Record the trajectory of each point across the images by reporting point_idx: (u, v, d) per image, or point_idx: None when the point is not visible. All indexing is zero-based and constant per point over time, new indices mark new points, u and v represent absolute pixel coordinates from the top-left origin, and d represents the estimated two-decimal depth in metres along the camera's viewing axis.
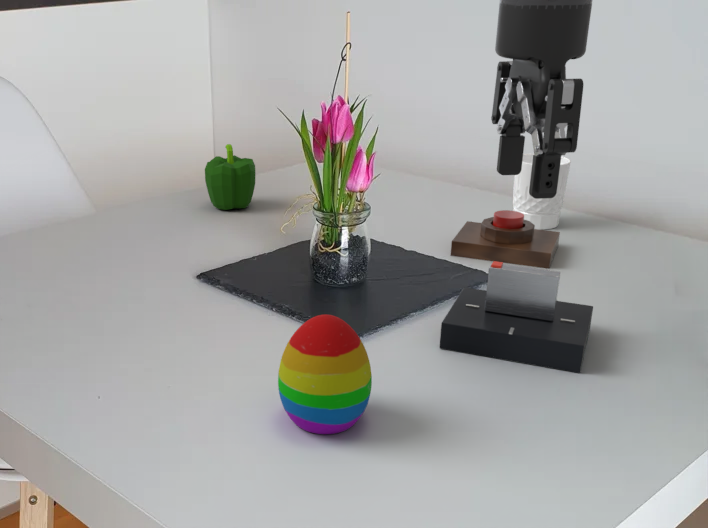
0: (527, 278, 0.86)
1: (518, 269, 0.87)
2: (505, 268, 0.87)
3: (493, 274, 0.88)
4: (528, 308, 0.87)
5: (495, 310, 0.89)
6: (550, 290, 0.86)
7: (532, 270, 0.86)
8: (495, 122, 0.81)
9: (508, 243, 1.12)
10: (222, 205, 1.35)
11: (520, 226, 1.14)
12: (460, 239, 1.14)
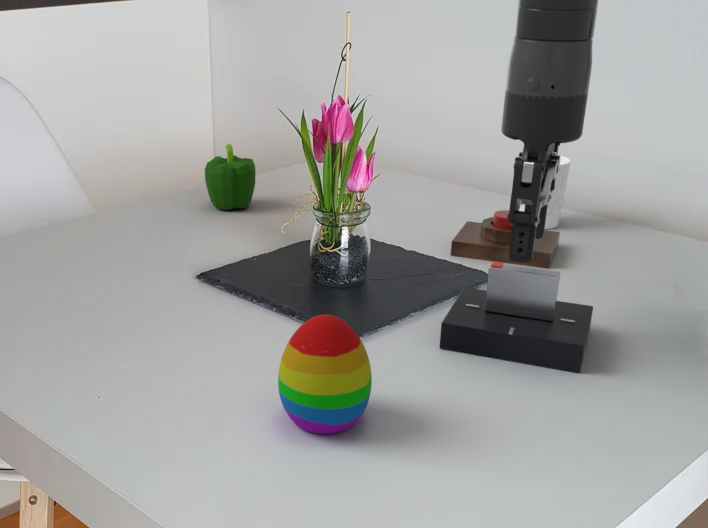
0: (527, 278, 0.86)
1: (518, 269, 0.87)
2: (505, 268, 0.87)
3: (493, 274, 0.88)
4: (528, 308, 0.87)
5: (495, 310, 0.89)
6: (550, 290, 0.86)
7: (532, 270, 0.86)
8: None
9: (508, 243, 1.12)
10: (222, 205, 1.35)
11: None
12: (460, 239, 1.14)
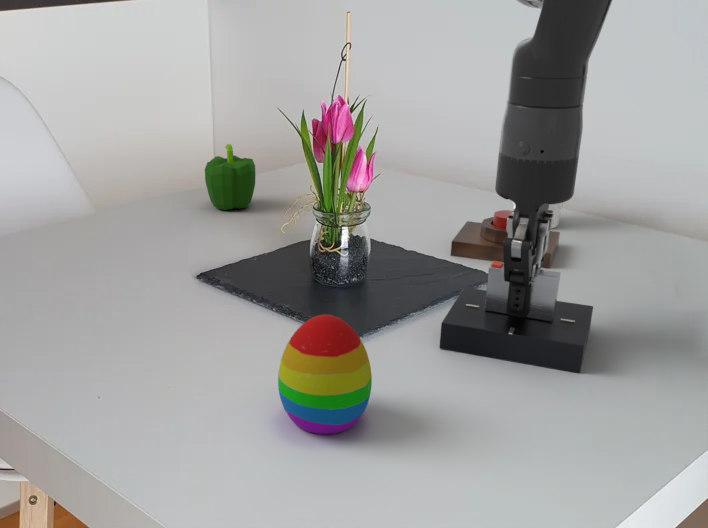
0: None
1: None
2: None
3: (493, 274, 0.88)
4: None
5: (495, 310, 0.89)
6: (549, 291, 0.86)
7: None
8: None
9: None
10: (222, 205, 1.35)
11: None
12: (460, 239, 1.14)
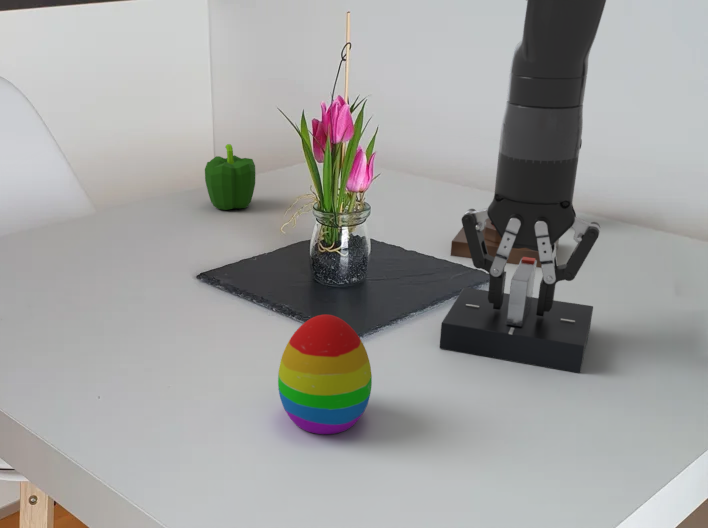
0: None
1: (523, 267, 0.87)
2: (522, 263, 0.89)
3: None
4: None
5: None
6: None
7: (522, 271, 0.86)
8: None
9: None
10: (222, 205, 1.35)
11: None
12: (460, 239, 1.14)
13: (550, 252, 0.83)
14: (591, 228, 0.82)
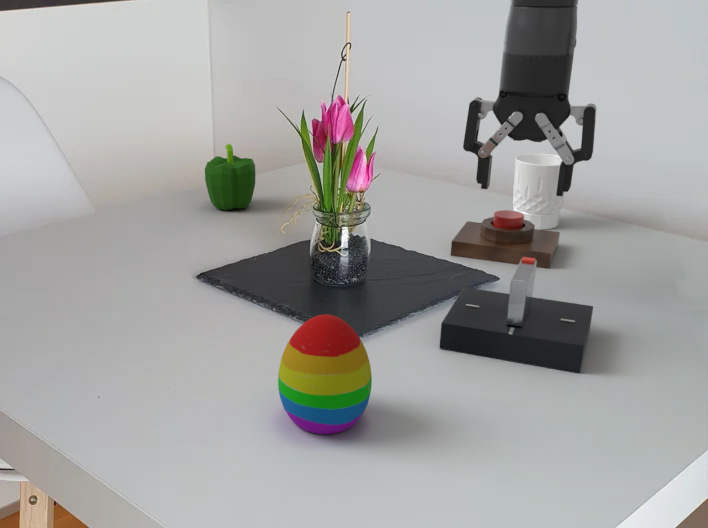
0: None
1: (523, 267, 0.87)
2: (522, 263, 0.89)
3: None
4: None
5: None
6: None
7: (522, 271, 0.86)
8: None
9: (508, 243, 1.12)
10: (222, 205, 1.35)
11: (520, 226, 1.14)
12: (460, 239, 1.14)
13: (558, 136, 0.94)
14: (586, 107, 0.92)
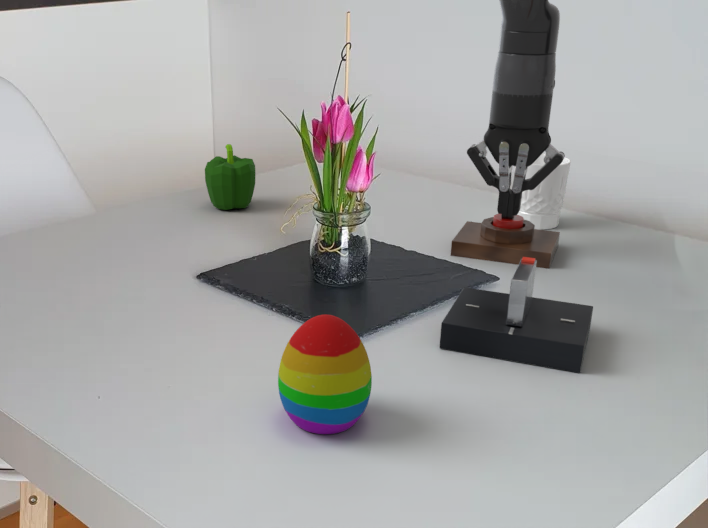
0: None
1: (523, 267, 0.87)
2: (522, 263, 0.89)
3: None
4: None
5: None
6: None
7: (522, 271, 0.86)
8: None
9: (508, 243, 1.12)
10: (222, 205, 1.35)
11: None
12: (460, 239, 1.14)
13: (524, 169, 1.10)
14: (558, 155, 1.08)
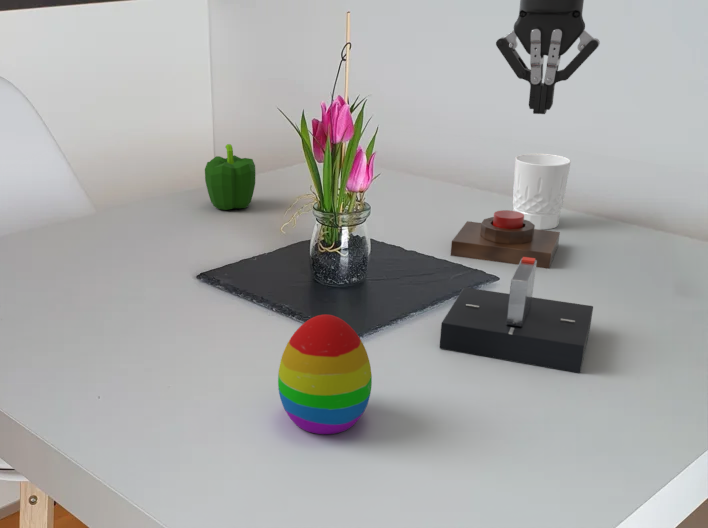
0: None
1: (523, 267, 0.87)
2: (522, 263, 0.89)
3: None
4: None
5: None
6: None
7: (522, 271, 0.86)
8: None
9: (508, 243, 1.12)
10: (222, 205, 1.35)
11: (520, 226, 1.14)
12: (460, 239, 1.14)
13: (557, 57, 1.05)
14: (593, 40, 1.03)
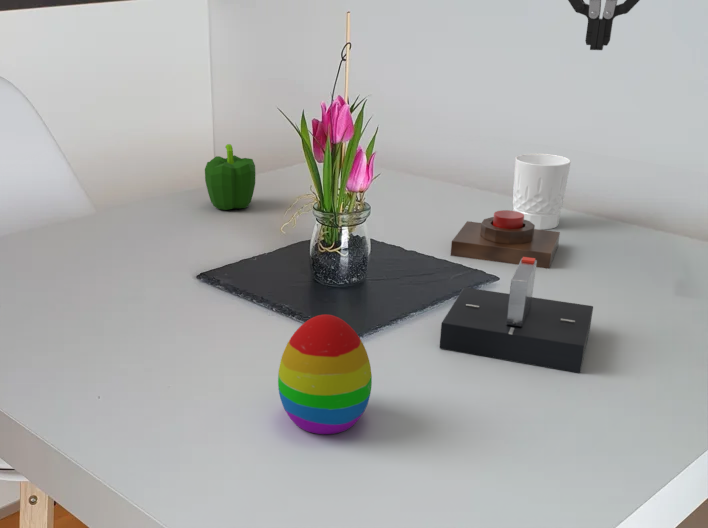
0: None
1: (523, 267, 0.87)
2: (522, 263, 0.89)
3: None
4: None
5: None
6: None
7: (522, 271, 0.86)
8: None
9: (508, 243, 1.12)
10: (222, 205, 1.35)
11: (520, 226, 1.14)
12: (460, 239, 1.14)
13: None
14: None
